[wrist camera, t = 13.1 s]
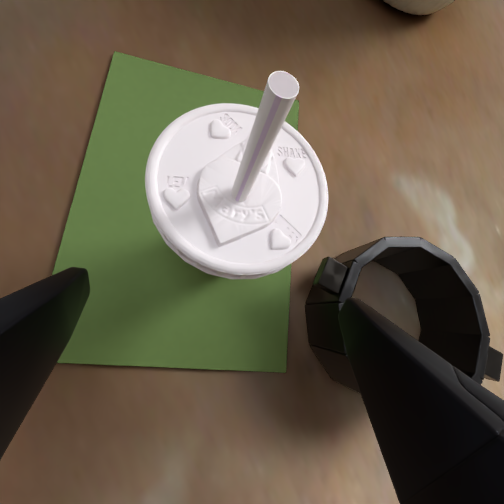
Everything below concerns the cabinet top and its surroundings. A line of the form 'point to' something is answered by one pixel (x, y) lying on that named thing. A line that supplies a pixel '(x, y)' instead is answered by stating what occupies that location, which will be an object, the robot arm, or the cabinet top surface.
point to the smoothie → (238, 186)
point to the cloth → (159, 244)
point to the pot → (427, 299)
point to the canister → (419, 5)
